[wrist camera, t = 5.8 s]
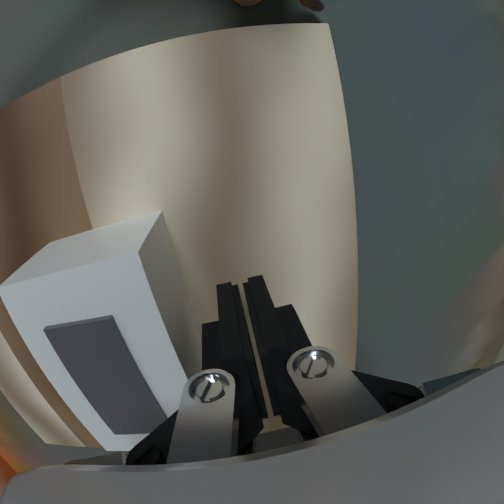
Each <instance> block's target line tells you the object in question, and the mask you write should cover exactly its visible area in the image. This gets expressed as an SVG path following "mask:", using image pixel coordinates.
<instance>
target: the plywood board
mask: <svg viewBox="0 0 504 504" xmlns="http://www.w3.org/2000/svg"><path fill="white" fill-rule="evenodd" d="M159 211H162V213H163V217H164V220H165V224H166V228H167V231H168V235H169V238H170V242H171V245H172V249H173V252H174V256H175V259H176V262H177V266H178V269H179V272H180V276H181V279H182V282H183V285H184V288H185V291H186V295H187V298H188V301H189V304H190V307H191V310H192V313H193V316H194V319H195V322H196V325H197V328H198V331H199V333H200V336H201V339H202V324H203V323H208V322H213V321H218V320H219V317H218V304H217V290H216V285H218V284H222V283H227V282H231V283H232V285H236V284H238V288H239V292H240V296H241V301H242V305H243V309H244V313H245V318H246V322H247V326H248V330H249V335H250V339H251V343H252V347H253V352H254V356H255V360H256V365H257V369H258V374H259V378H260V382H261V387H262V391H263V395H264V400H265V404H266V408H267V413H268V417H269V418H266V419H262V420H263V424H264V428H263V430H262V431H261V432H260V433H259V434H261V433H266V432H271V431H275V430H280V429H284V428H288V427H290V426H288V425H285V424H283V423H282V419H281V416H280V415H279V416H275V417H274V414H273V411H272V407H271V403H270V399H269V395H268V391H267V387H266V383H265V378H264V374H263V370H262V366H261V362H260V358H259V354H258V350H257V346H256V341H255V337H254V333H253V328H252V324H251V319H250V315H249V311H248V306H247V302H246V297H245V293H244V288H243V284H242V283H245V282H248V279H247V278H249V277H254V276H258V275H262V276H263V278H264V281H265V283H266V286H267V289H268V291H269V294H270V296H271V299H272V302H273V304H274V307H275V308H276V307H280V306H285V305H289V304H292V305H293V307H294V309H295V311H296V313H297V315H298V317H299V319H300V321H301V323H302V325H303V327H304V329H305V332H306V334H307V336H308V338H309V340H310V342H311V344H312V346H322V347H327V348H329V349H332V350H333V351H334V352H335V353H337V354H338V356H339V357H340V358H341V359H342V360H343V361H344V363H345V364H346V365H347V366H348V367H349V369H350V370H353V371H355V363H356V346H357V322H358V249H357V224H356V207H355V193H354V181H353V170H352V160H351V151H350V142H349V134H348V127H347V119H346V113H345V106H344V100H343V94H342V88H341V82H340V76H339V71H338V66H337V61H336V56H335V51H334V47H333V42H332V37H331V33H330V29H329V25H328V24H326V23H293V24H271V25H258V26H248V27H238V28H230V29H223V30H217V31H210V32H204V33H199V34H194V35H189V36H184V37H179V38H175V39H170V40H166V41H162V42H158V43H154V44H151V45H147V46H143V47H140V48H136V49H133V50H130V51H127V52H124V53H120V54H117V55H115V56H112V57H109V58H106V59H103V60H100V61H98V62H95V63H92V64H90V65H87V66H85V67H82V68H80V69H77V70H75V71H73V72H70V73H68V74H66V75H64V76H61V77H59V78H57V79H55V80H53V81H51V82H49V83H47V84H45V85H43V86H41V87H39V88H37V89H35V90H33V91H31V92H29V93H27V94H25V95H23V96H22V97H20V98H18V99H16V100H15V101H13V102H11V103H9V104H8V105H6V106H4V107H3V108H1V109H0V285H1V284H2V283H3V282H4V281H5V280H6V279H7V278H9V277H10V276H11V275H12V274H13V273H14V272H15V271H16V270H17V269H19V268H20V267H21V266H22V265H23V264H24V263H26V262H27V261H28V260H29V259H30V258H31V257H33V256H34V255H35V254H36V253H37V252H39V251H40V250H41V249H42V248H43V247H45V246H46V245H47V244H48V243H50V242H53V241H56V240H59V239H62V238H66V237H69V236H72V235H75V234H79V233H82V232H86V231H89V230H92V229H96V228H99V227H103V226H106V225H110V224H114V223H117V222H121V221H125V220H128V219H132V218H136V217H140V216H143V215H147V214H151V213H155V212H159ZM0 390H1V392H2V393H3V394H4V395H5V397H6V398H7V399H8V401H9V402H10V403H11V404H12V406H13V407H14V408H15V409H16V410H17V412H18V413H19V414H20V415H21V416H22V418H23V419H24V420H25V421H26V422H27V423H28V424H29V426H30V427H31V428H32V429H33V430H34V431H35V432H36V433H37V434H38V435H39V436H40V437H41V439H42V440H43V441H44V442H45V443H48V444H57V445H67V446H80V447H100V448H103V446H102V445H101V444H100V443H99V442H98V441H97V440H96V439H95V438H94V437H93V436H92V434H91V433H90V432H89V431H88V430H87V429H86V428H85V426H84V425H83V424H82V423H81V422H80V420H79V419H78V418H77V417H76V416H75V414H74V413H73V412H72V411H71V409H70V408H69V407H68V406H67V404H66V403H65V402H64V400H63V399H62V398H61V396H60V395H59V394H58V392H57V391H56V390H55V388H54V387H53V385H52V384H51V383H50V381H49V380H48V378H47V377H46V375H45V374H44V372H43V371H42V369H41V368H40V366H39V365H38V363H37V362H36V360H35V359H34V357H33V355H32V354H31V352H30V351H29V349H28V347H27V346H26V344H25V342H24V340H23V339H22V337H21V335H20V333H19V332H18V330H17V328H16V326H15V324H14V322H13V321H12V319H11V317H10V315H9V313H8V311H7V309H6V307H5V305H4V303H3V301H2V299H1V296H0Z"/></svg>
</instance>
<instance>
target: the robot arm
mask: <svg viewBox="0 0 504 504" xmlns="http://www.w3.org/2000/svg"><path fill="white" fill-rule="evenodd" d="M247 279H248V282H245V283H242V284H243V288H244V293H245V297H246V302H247V306H248V311H249V315H250V319H251V324H252V328H253V333H254V337H255V341H256V346H257V350H258V354H259V358H260V362H261V366H262V370H263V374H264V378H265V383H266V387H267V391H268V395H269V399H270V403H271V407H272V411H273V414H274V417H275V416H279V415H280V416H281V419H282V423H283V424H285V425H288V426H290V427H292V428H295V429H296V431H297V434H298V436H299V438H300V440H301V443H297V444H293V445H289V446H285V447H281V448H276V449H272V450H267V451H262V452H257V453H256V441H255V438H256V436H257V435H258V434H259V433H260V432H261V431H262V430H263V428H264V424H263V420H262V419H266V418H269V417H268V413H267V408H266V404H265V400H264V395H263V391H262V387H261V382H260V378H259V374H258V369H257V365H256V360H255V356H254V352H253V347H252V343H251V339H250V335H249V330H248V326H247V322H246V318H245V313H244V309H243V305H242V301H241V296H240V292H239V288H238V284H236V285H232V283H231V282H227V283H222V284H218V285H216V290H217V304H218V317H219V320H218V321H213V322H208V323H203V324H202V371H201V372H198V373H196V374H195V375H193V376H192V377H190V379H189V380H188V381H187V382H186V384H185V386H184V388H183V392H182V396H181V400H180V405H179V409H178V410H177V411H176V412H174V413H173V414H172V415H171V416H170V417H169V418H168V419H166V420H165V421H164V422H163V423H162V424H160V425H159V426H158V427H157V428H156V429H155V430H153V431H152V432H151V433H150V434H149V435H147V436H146V437H145V438H144V439H143V440H141V441H140V442H139V443H138V444H136V445H135V446H134V447H133V448H132V449H131V450H130V452H129V454H124V453H123V452H117V453H112V454H107V455H102V456H97V457H91V458H85V459H79V460H72V461H69V462H66V463H65V464H64V465H51V466H43V467H38V468H34V469H30V470H26V471H24V472H21V473H19V474H17V475H15V476H14V477H13V478H12V479H11V480H10V481H9V482H8V484H7V485H6V487H5V489H4V491H3V493H2V495H1V498H0V504H504V361H502V362H500V363H497V364H494V365H491V366H488V367H486V368H483V369H479V368H477V369H471V370H468V371H464V372H461V373H458V374H454V375H451V376H447V377H444V378H440V379H436V380H432V381H428V382H424V383H422V385H421V387H418V388H417V387H415V386H413V385H410V384H407V383H402V382H398V381H394V380H389V379H385V378H381V377H377V376H373V375H369V374H365V373H361V372H357V371H353V370H350V369H349V367H348V366H347V365H346V364H345V363H344V361H343V360H342V359H341V358H340V357H339V356H338V354H337V353H335V352H334V351H333V350H332V349H329V348H327V347H322V346H312V344H311V342H310V340H309V338H308V336H307V334H306V332H305V329H304V327H303V325H302V323H301V321H300V319H299V317H298V315H297V313H296V311H295V309H294V307H293V305H292V304H289V305H285V306H280V307H276V308H275V307H274V304H273V302H272V299H271V296H270V294H269V291H268V289H267V286H266V283H265V281H264V278H263V276H262V275H258V276H254V277H249V278H247Z"/></svg>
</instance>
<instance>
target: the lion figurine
mask: <svg viewBox="0 0 504 504" xmlns="http://www.w3.org/2000/svg"><path fill="white" fill-rule="evenodd" d="M234 1H235V2H236V3H237V4H239V5H241V6H244V7H248V6H253V5H256V4H257V3H259V2H261V1H262V0H234ZM300 2H301V4H302V5H303V6H304V7H308V8H309V9H311V10H313V11H316V12H320V11H322V10H323V9H324V4H323V3H322V2H321V1H320V0H300Z"/></svg>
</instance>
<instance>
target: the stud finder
mask: <svg viewBox="0 0 504 504" xmlns="http://www.w3.org/2000/svg"><path fill="white" fill-rule="evenodd" d="M0 296H1V299H2V301H3V303H4V305H5V307H6V309H7V311H8V313H9V315H10V317H11V319H12V321H13V322H14V324H15V326H16V328H17V330H18V332H19V333H20V335H21V337H22V339H23V340H24V342H25V344H26V346H27V347H28V349H29V351H30V352H31V354H32V355H33V357H34V359H35V360H36V362H37V363H38V365H39V366H40V368H41V369H42V371H43V372H44V374H45V375H46V377H47V378H48V380H49V381H50V383H51V384H52V385H53V387H54V388H55V390H56V391H57V392H58V394H59V395H60V396H61V398H62V399H63V400H64V402H65V403H66V404H67V406H68V407H69V408H70V409H71V411H72V412H73V413H74V414H75V416H76V417H77V418H78V419H79V420H80V422H81V423H82V424H83V425H84V426H85V428H86V429H87V430H88V431H89V432H90V433H91V434H92V436H93V437H94V438H95V439H96V440H97V441H98V442H99V443H100V444H101V445H102V446H103V448H104V449H105V450H106V451H130V450H131V449H132V448H133V447H134V446H135V445H136V444H138V443H139V442H140V441H141V440H143V439H144V438H145V437H146V436H147V435H149V434H150V433H151V432H152V431H153V430H155V429H156V428H157V427H158V426H159V425H160V424H162V423H163V422H164V421H165V420H166V419H168V418H169V417H170V416H171V415H172V414H173V413H174V412H176V411H177V410H178V409H179V405H180V400H181V396H182V392H183V388H184V386H185V384H186V382H187V381H188V380H189V379H190V377H192V376H193V375H195V374H196V373H198V372H201V371H202V339H201V336H200V333H199V331H198V328H197V325H196V322H195V319H194V316H193V313H192V310H191V307H190V304H189V301H188V298H187V295H186V291H185V288H184V285H183V282H182V279H181V276H180V272H179V269H178V266H177V262H176V259H175V256H174V252H173V249H172V245H171V242H170V238H169V235H168V231H167V228H166V224H165V220H164V217H163V213H162V211H159V212H155V213H151V214H147V215H143V216H140V217H136V218H132V219H128V220H125V221H121V222H117V223H114V224H110V225H106V226H103V227H99V228H96V229H92V230H89V231H86V232H82V233H79V234H75V235H72V236H69V237H66V238H62V239H59V240H56V241H53V242H50V243H48V244H47V245H46V246H45V247H43V248H42V249H41V250H40V251H39V252H37V253H36V254H35V255H34V256H33V257H31V258H30V259H29V260H28V261H27V262H26V263H24V264H23V265H22V266H21V267H20V268H19V269H17V270H16V271H15V272H14V273H13V274H12V275H11V276H10V277H9V278H7V279H6V280H5V281H4V282H3V283H2V284H1V285H0Z"/></svg>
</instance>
